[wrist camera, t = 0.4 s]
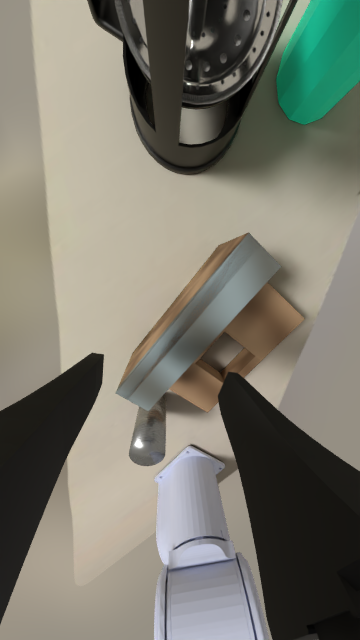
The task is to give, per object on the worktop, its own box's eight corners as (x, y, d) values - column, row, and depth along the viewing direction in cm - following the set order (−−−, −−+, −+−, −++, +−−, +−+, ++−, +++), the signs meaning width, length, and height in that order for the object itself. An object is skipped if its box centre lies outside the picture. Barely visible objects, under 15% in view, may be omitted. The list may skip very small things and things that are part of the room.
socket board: (203, 397, 24) (217, 449, 17) (132, 352, 21) (115, 393, 14) (289, 312, 20) (346, 335, 14) (218, 245, 18) (248, 232, 11)
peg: (156, 414, 24) (151, 470, 17) (135, 402, 23) (121, 457, 17) (171, 397, 23) (172, 450, 17) (150, 385, 23) (142, 435, 16)
